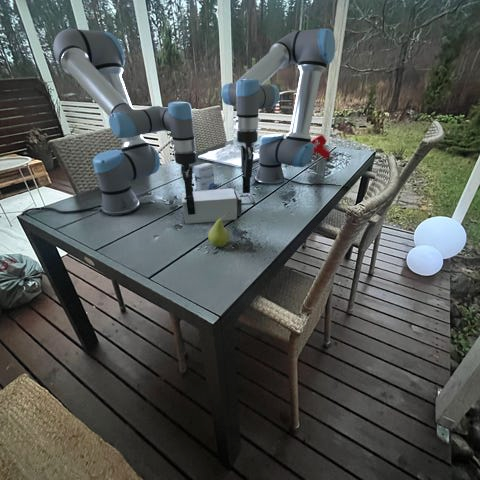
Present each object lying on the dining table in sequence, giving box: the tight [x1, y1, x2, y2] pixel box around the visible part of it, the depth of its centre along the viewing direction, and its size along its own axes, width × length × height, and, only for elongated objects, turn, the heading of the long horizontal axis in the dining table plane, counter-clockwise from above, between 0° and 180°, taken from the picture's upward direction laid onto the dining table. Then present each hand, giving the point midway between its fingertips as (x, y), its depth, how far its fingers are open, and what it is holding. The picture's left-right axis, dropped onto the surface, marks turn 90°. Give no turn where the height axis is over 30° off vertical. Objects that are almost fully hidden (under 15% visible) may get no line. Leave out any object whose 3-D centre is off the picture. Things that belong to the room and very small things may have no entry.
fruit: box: [207, 212, 230, 248], centre depth 89 cm, size 7×8×12 cm
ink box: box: [193, 162, 215, 191], centre depth 132 cm, size 8×5×12 cm, turn 135°
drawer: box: [234, 190, 256, 217], centre depth 109 cm, size 25×9×7 cm, turn 100°
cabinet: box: [181, 187, 238, 225], centre depth 109 cm, size 20×10×9 cm, turn 100°
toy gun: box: [311, 133, 331, 161], centre depth 176 cm, size 18×4×15 cm
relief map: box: [197, 143, 259, 168], centre depth 180 cm, size 27×35×5 cm
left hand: (191, 207), depth 108 cm, fingers closed on cabinet, 10 cm apart
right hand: (246, 192), depth 108 cm, fingers closed
